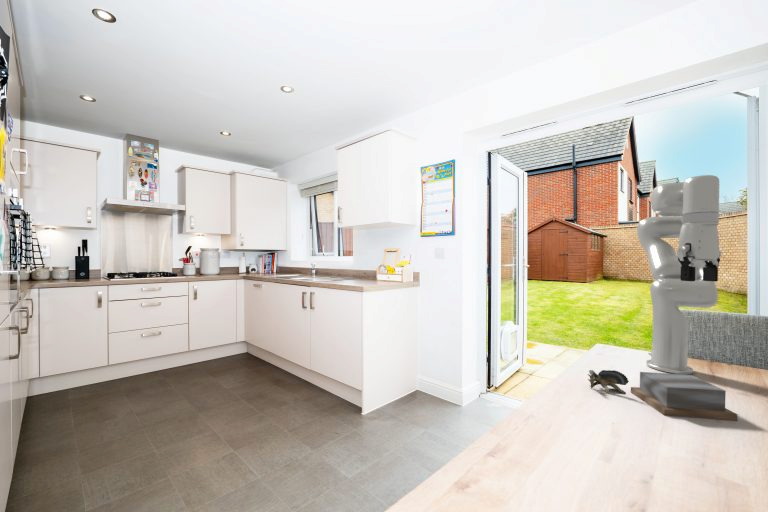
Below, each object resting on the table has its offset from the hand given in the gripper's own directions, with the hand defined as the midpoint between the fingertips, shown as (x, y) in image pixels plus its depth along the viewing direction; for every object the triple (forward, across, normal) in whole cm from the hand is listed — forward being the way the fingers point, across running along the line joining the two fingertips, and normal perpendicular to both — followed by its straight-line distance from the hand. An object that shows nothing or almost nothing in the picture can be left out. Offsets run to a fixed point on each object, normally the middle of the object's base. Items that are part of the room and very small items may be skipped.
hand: (699, 281), depth 95 cm
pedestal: (+33, +11, +2) cm, 35 cm away
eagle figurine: (+33, +21, -11) cm, 40 cm away
